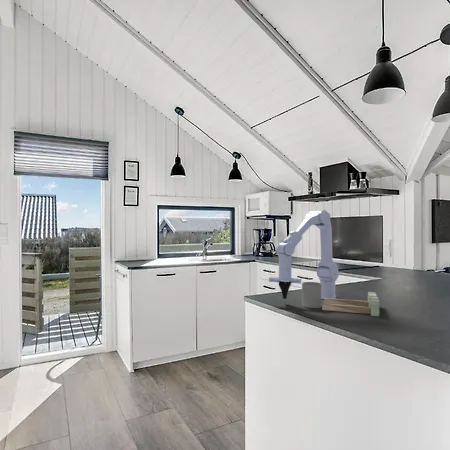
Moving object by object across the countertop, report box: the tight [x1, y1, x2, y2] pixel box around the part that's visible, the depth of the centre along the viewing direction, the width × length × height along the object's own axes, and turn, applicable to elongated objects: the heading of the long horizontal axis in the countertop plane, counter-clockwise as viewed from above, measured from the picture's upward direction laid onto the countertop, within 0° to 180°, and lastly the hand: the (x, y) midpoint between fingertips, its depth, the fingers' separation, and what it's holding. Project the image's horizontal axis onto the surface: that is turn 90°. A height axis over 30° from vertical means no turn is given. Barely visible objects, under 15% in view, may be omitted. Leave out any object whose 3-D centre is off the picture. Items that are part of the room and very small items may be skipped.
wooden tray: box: [321, 291, 380, 317], centre depth 152 cm, size 20×22×6 cm
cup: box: [301, 281, 322, 309], centre depth 157 cm, size 8×8×10 cm
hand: (284, 298), depth 161 cm, fingers closed
